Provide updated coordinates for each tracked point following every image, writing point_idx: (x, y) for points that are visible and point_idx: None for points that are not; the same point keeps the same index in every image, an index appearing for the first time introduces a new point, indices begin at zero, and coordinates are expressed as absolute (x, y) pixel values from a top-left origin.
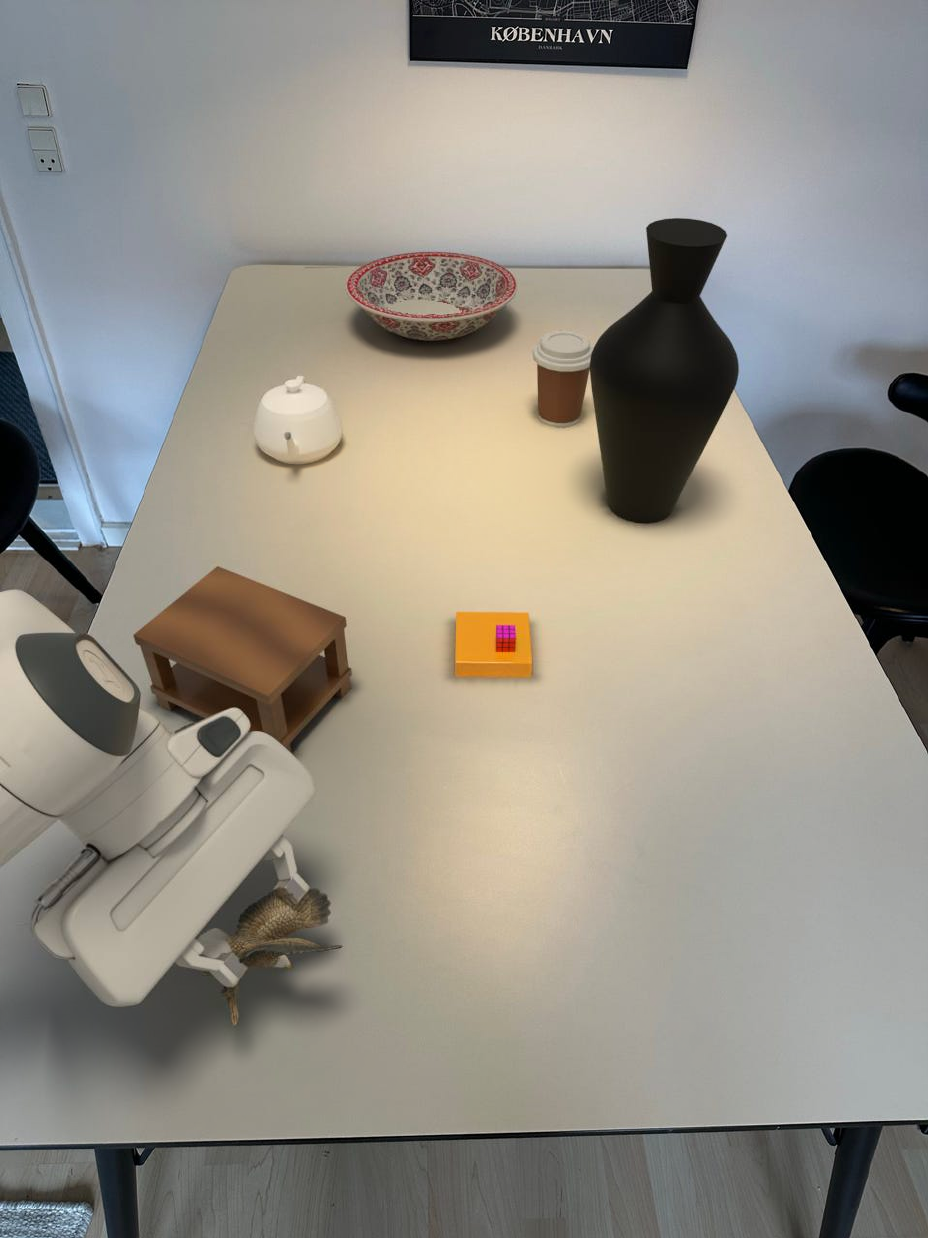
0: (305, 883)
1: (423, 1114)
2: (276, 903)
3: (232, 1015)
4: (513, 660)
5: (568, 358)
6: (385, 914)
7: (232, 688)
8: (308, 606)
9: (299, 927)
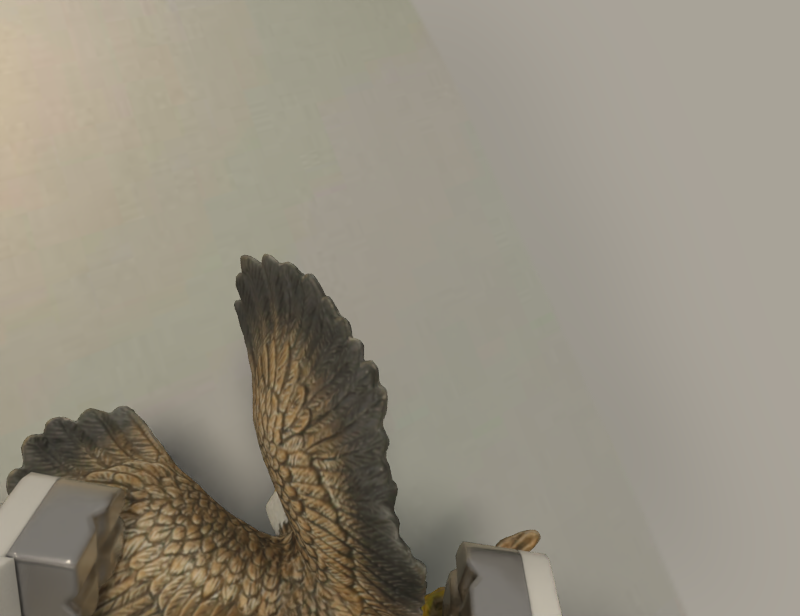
0: (16, 491)
1: (444, 117)
2: (129, 601)
3: None
4: None
5: None
6: (13, 345)
7: None
8: None
9: (186, 478)
